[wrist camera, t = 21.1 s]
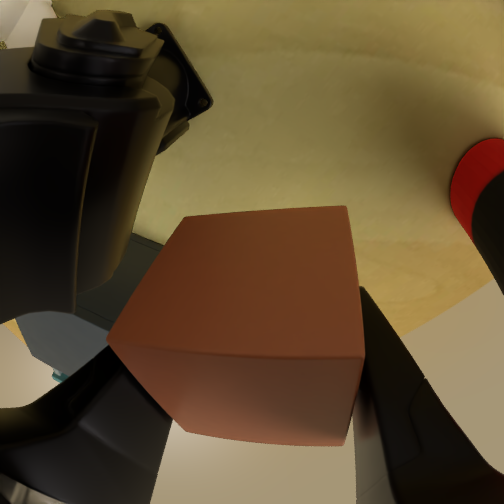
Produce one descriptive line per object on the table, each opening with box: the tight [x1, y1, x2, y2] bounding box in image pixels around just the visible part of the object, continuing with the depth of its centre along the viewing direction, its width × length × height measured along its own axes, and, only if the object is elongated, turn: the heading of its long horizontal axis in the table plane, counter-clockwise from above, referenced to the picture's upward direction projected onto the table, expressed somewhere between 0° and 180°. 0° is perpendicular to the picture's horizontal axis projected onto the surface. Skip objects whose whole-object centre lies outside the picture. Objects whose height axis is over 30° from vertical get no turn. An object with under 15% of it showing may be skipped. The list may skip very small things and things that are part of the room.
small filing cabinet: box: [15, 233, 164, 376], centre depth 24 cm, size 14×13×9 cm
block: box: [106, 206, 365, 446], centre depth 7 cm, size 4×4×4 cm
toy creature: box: [0, 0, 57, 49], centre depth 10 cm, size 5×8×6 cm, turn 31°
